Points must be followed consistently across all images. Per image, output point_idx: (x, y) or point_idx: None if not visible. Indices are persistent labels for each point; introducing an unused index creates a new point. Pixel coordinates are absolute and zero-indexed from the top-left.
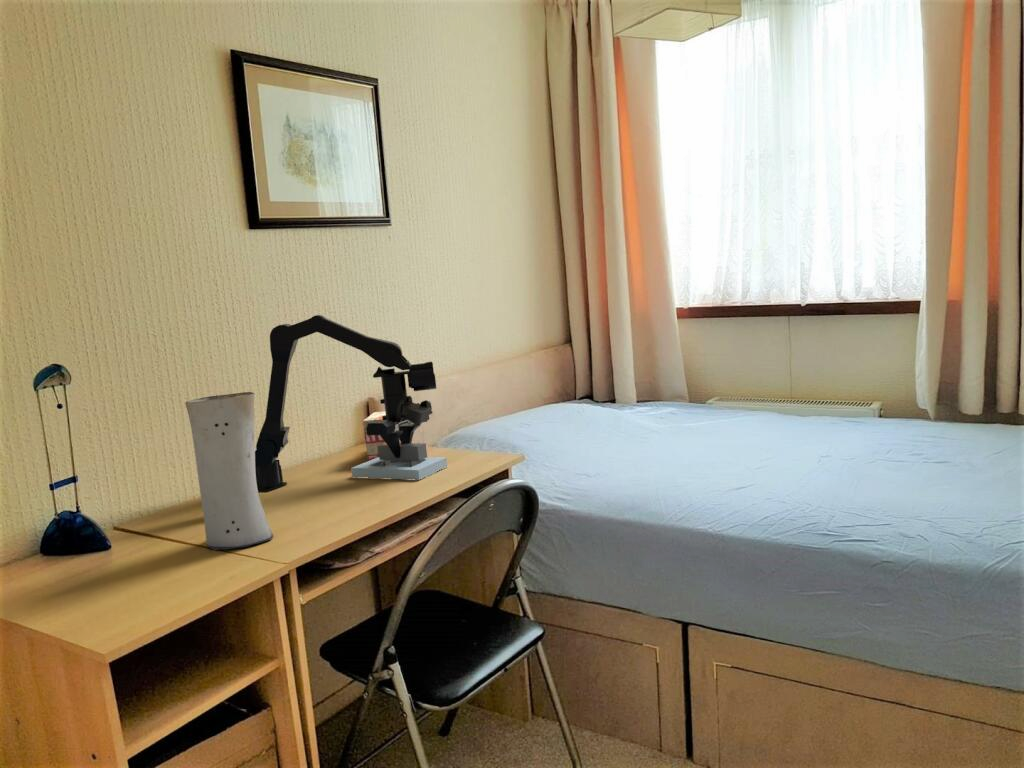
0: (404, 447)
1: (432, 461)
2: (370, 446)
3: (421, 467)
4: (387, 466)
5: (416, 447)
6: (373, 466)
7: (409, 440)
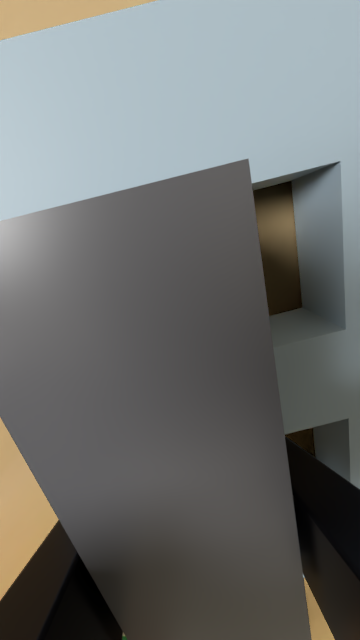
0: (279, 442)
1: (79, 107)
2: None
3: (328, 5)
4: (344, 394)
5: (244, 197)
6: (356, 477)
7: (49, 619)
